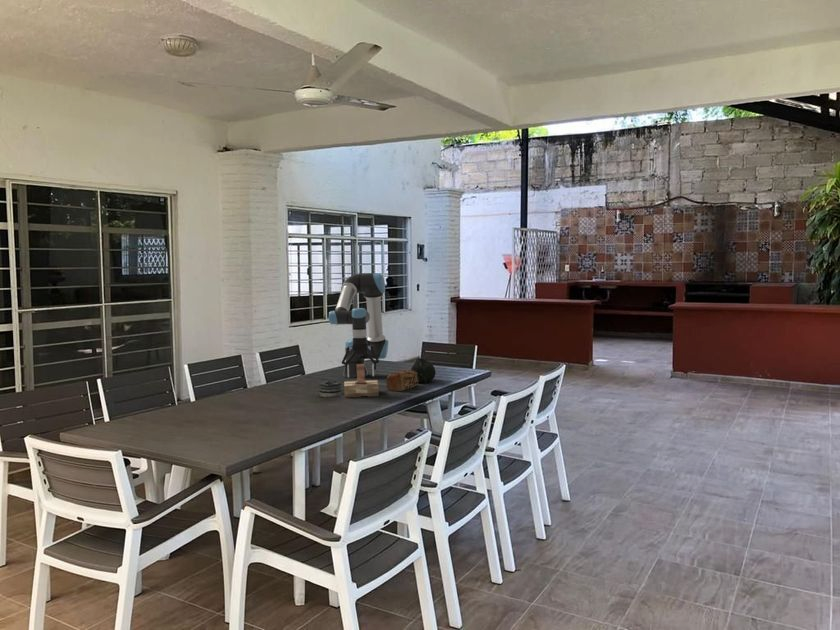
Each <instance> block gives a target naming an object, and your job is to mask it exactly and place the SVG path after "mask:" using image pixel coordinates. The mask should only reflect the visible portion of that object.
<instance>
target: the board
mask: <svg viewBox="0 0 840 630" xmlns="http://www.w3.org/2000/svg"><path fill="white" fill-rule="evenodd" d="M343 384H344V385H343V386H344V387H343V389H344V392H343V393H344V398H345V397H346V398H362V397H361V396H368V397H379V396H380V393H379V391H380V389H379V382H378V379H369V380H366V379H365V384H357V380H346V381H344V382H343Z"/></svg>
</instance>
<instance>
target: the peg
mask: <svg viewBox="0 0 840 630" xmlns="http://www.w3.org/2000/svg"><path fill="white" fill-rule="evenodd" d="M365 377H366V376H365V369H364V364H357V378H356V381H357V384H365V381H366V379H365Z"/></svg>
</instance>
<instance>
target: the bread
mask: <svg viewBox="0 0 840 630" xmlns="http://www.w3.org/2000/svg"><path fill="white" fill-rule="evenodd" d="M385 382H386V388H387V390H389V391H392V390H393V392H394V391H395V392H403V391H406V389H407V390H410V389H413V388H414V387H417V386H418V384H419V383H418V373H417V372H415V371H412V370H411V369H404V370H397V371H395V372H392V373H390V374H389V375H388V376H387V377H386V381H385ZM412 387H413V388H412ZM409 388H410V389H409Z"/></svg>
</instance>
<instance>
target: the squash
mask: <svg viewBox="0 0 840 630" xmlns="http://www.w3.org/2000/svg"><path fill="white" fill-rule="evenodd" d="M410 370H412V371H415V372H417V373H418V384H421V383H424V384H427V383H431V382H433V380H434V379H435V377H436V374H437V373H436V369H435V366H434V365H433V364H432V363H431V362H430V361H428V360H426V359H424V358H421V357H420V358H418V359H417V360H416V361H415V362H414V363H413V365H412V366H411V369H410Z"/></svg>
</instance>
